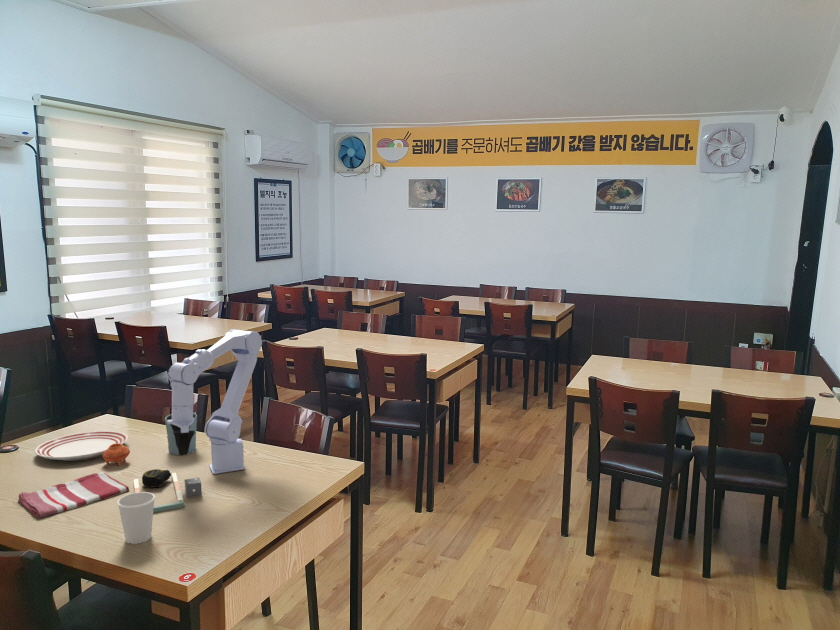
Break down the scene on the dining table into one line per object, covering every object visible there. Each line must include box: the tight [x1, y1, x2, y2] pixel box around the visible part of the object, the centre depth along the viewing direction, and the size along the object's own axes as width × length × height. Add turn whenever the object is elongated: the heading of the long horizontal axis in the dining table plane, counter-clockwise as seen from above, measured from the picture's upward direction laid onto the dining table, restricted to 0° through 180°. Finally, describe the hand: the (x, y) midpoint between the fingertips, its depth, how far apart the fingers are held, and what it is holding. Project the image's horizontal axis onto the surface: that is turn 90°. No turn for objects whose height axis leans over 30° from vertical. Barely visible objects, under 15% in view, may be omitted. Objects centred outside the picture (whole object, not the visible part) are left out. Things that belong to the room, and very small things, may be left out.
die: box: [184, 476, 203, 499], centre depth 177 cm, size 4×4×4 cm
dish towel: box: [17, 471, 130, 519], centre depth 175 cm, size 17×23×3 cm
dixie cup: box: [116, 491, 156, 545], centre depth 151 cm, size 8×8×10 cm
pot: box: [102, 444, 131, 467], centre depth 199 cm, size 8×8×7 cm
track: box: [133, 472, 185, 514], centre depth 176 cm, size 12×23×1 cm, turn 26°
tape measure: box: [141, 468, 172, 488], centre depth 183 cm, size 7×7×4 cm
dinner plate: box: [34, 430, 129, 462], centre depth 210 cm, size 27×27×3 cm
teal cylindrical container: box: [164, 412, 198, 456], centre depth 210 cm, size 10×10×12 cm
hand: (182, 451), depth 181 cm, fingers open, 7 cm apart
